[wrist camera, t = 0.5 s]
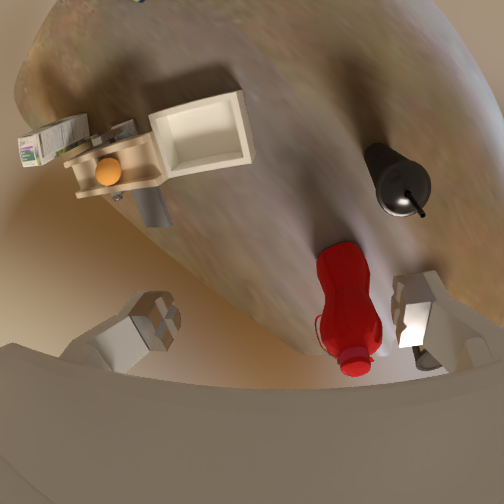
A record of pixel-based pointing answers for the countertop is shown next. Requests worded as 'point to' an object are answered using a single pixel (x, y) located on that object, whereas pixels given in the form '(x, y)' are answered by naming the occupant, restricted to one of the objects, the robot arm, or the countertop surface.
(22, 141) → the syrup box
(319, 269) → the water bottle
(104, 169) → the ball
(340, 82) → the countertop surface
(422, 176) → the drinking cup
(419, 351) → the coffee can
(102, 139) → the pivot stand
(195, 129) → the white open tray
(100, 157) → the lever
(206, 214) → the countertop surface
